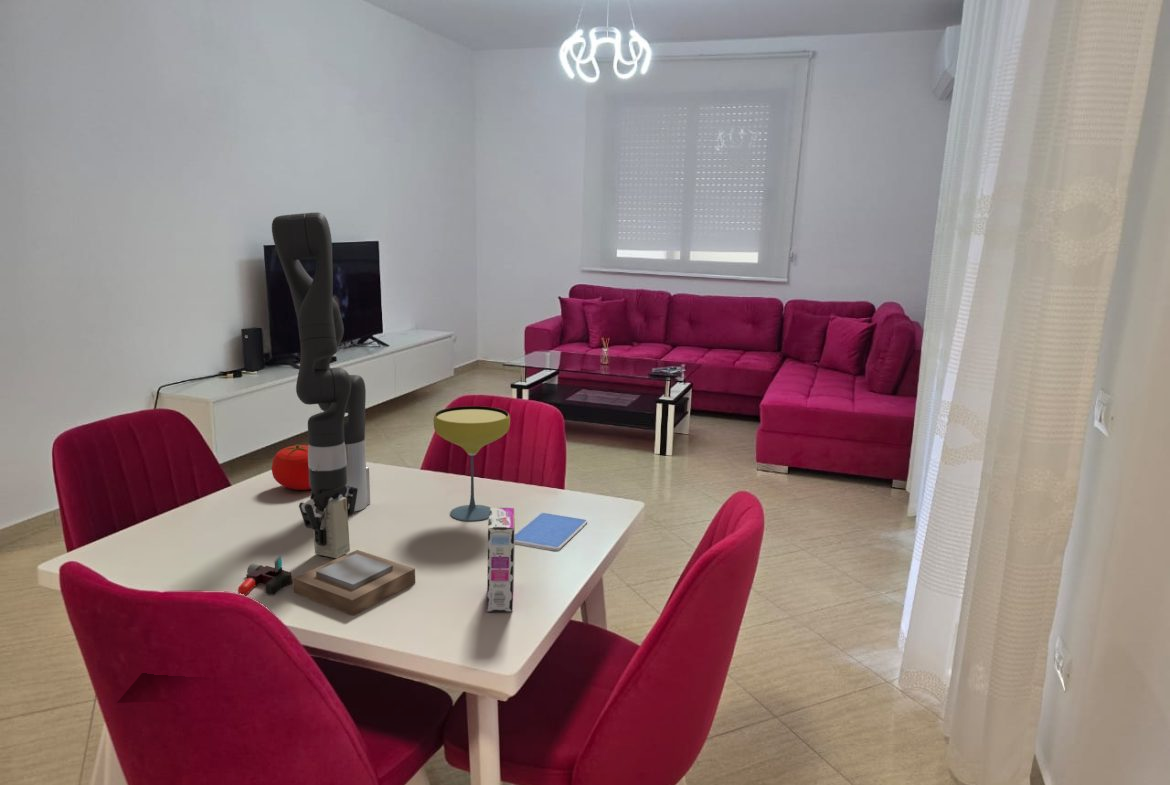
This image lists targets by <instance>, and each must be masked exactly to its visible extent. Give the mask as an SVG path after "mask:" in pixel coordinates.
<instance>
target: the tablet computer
mask: <svg viewBox="0 0 1170 785" xmlns="http://www.w3.org/2000/svg"><path fill="white" fill-rule="evenodd" d="M587 522H588V523H589V521H588V520H587V519H585V518H584V519H583V518H579V517H578V518H577V517H572V516H566V515H560V514H559V515H558V514H552V513H547V512H540V513H539V514H538V515H536V517H534V518H533V519H532V520H531V521H529V522H528V523H527V524H526V525H525V526H523V527H522V528H521V529H519V530H518V531H517V532H516V533H515V545H519V546H525V547H529V548H537V549H542V550H548V551H557V552H558V551H560V550H561V549H562V548H563V547H564V546H565V545H566V544H567V543H569V541H570V540H572V538H573V537H574V536H575V535H577V534H578V533H579V532H580V531H581V530H582V529H584V527H585V526H586V525H587V524H588V523H587ZM586 523H587V524H586ZM585 524H586V525H585ZM584 525H585V526H584ZM583 526H584V527H583ZM579 530H580V531H579Z"/></svg>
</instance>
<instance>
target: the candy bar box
mask: <svg viewBox="0 0 1170 785" xmlns="http://www.w3.org/2000/svg"><path fill="white" fill-rule="evenodd" d="M515 520H516V519H515V507H490V513H489V518H488V522H487V583H486V584H487V585H486V586H487V588H486V590H487V593H486V594H487V596H486V597H487V598H486V599H487V600H486V603H487V604H486V606H487V607H486V612H487V613H512V612H513V609H514V608H513V606H514V591H515V590H514V589H515V588H514V587H515V551H516V550H515V549H516V548H515V547H516V546H515V545H516V544H515V534H516V533H515V531H516V530H515V529H516V528H515V526H516V525H515V524H516V523H515Z"/></svg>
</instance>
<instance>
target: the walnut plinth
mask: <svg viewBox="0 0 1170 785" xmlns="http://www.w3.org/2000/svg"><path fill="white" fill-rule="evenodd" d="M414 584H416V568H414V567H411V566H409V565H406V564H403V563H399V562H396V561H393V560H390V559H386V558H383V557H381V556H378V555H375V554H371V553H367V552H365V551H362V550H359V549H356V550H353V551H350V552H348V553H346V554H344V555H342V556H340V557H338V558H334V559H332V560H331V561H328V562H326V563H324V564H321V565H319V566H317V567H315V568H313V569H310V570H308V571H306V572H305V571H304V572H303V573H301V574H299V575H297V576H294V577H292V587H293V588H292V589H293V590H292V591H293V594H295V595H299V596H301V597H304V598H306V599H308V600H312V601H314V602H317V603H319V604H322V605H324V606H328V607H329V608H332V609H335V610H338V611H341V612H343V613H345V614H348V615H350V616H355V615H357V614H359V613H361V612H363V611H365V610H366V609H368V608H370V607H372V606H374V605H376V604H378V603H379V602H382V601H384V600H385V599H387V598H389V597H391V596H393V595H395V594H396V593H398V592H401V591H403V590H405V589H406V588H408V587H410V586H412V585H414Z"/></svg>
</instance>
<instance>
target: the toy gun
mask: <svg viewBox="0 0 1170 785" xmlns="http://www.w3.org/2000/svg"><path fill="white" fill-rule="evenodd" d="M282 559H283V558H282V556H281V555H279V556H278V557H277V558H276V559H275V561H274V567H273V566H270V565H265V566H264V565H262V564H257V563H251V564H249V566H248V567H247V571H246V579H245V580H244V581H243V582H242V583H241V584H240V585H239V586H238V589H237V592H238V594H239V593H241V594H244V595H243V596H246V595H249V593H250V592H251V591H252V590H253V589H254V588H255V586H256V587H257V586H259V585H261V584H262V585H265V594H267V595H270V596H274V595H276V594H277V593H278V592H279V591H281V590H282V589H283V588H286V587H287V586H290V585H293V577H292V572H291V571H288V570H285V569H284V570H283V567H282V566H283V561H282Z"/></svg>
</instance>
